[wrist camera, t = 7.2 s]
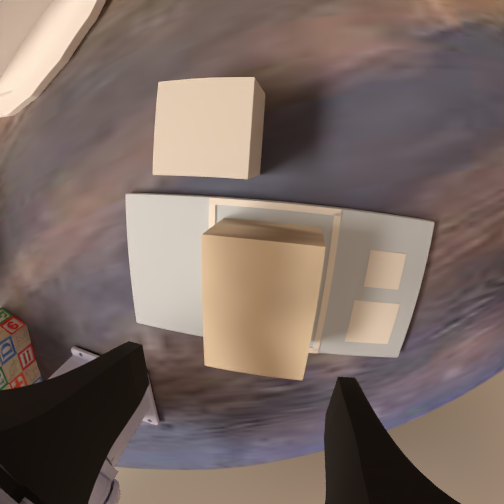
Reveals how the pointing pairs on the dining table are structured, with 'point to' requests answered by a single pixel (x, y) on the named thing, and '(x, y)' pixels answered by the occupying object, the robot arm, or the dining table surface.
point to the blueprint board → (333, 274)
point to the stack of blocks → (16, 354)
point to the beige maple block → (209, 127)
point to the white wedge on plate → (38, 45)
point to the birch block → (260, 295)
